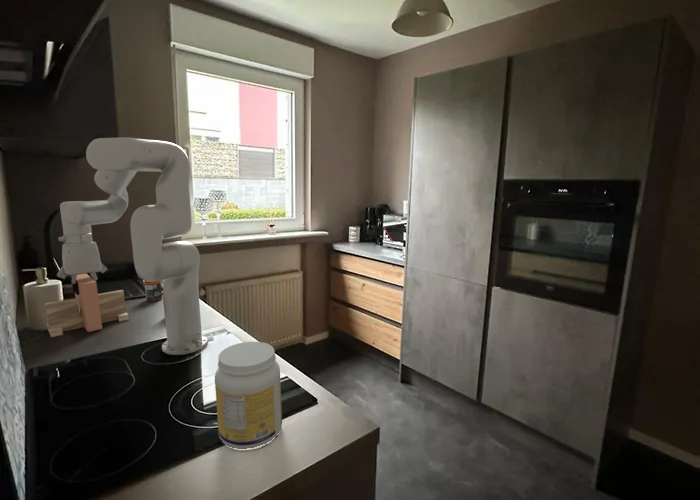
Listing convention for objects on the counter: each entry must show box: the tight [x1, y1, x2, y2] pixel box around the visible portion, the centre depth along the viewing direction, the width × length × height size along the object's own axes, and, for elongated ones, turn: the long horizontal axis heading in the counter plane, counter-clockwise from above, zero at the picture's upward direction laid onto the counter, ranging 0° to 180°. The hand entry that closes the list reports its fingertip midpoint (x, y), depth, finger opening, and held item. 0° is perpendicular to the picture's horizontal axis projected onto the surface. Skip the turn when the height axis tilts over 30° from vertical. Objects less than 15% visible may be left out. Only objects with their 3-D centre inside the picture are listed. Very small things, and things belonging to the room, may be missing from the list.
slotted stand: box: [44, 289, 130, 338], centre depth 130 cm, size 8×22×10 cm, turn 134°
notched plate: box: [74, 273, 103, 333], centre depth 129 cm, size 16×4×16 cm, turn 44°
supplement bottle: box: [143, 280, 163, 303], centre depth 156 cm, size 6×6×11 cm
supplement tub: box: [214, 341, 283, 449], centre depth 73 cm, size 12×12×17 cm
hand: (85, 292), depth 128 cm, fingers closed on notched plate, 4 cm apart
